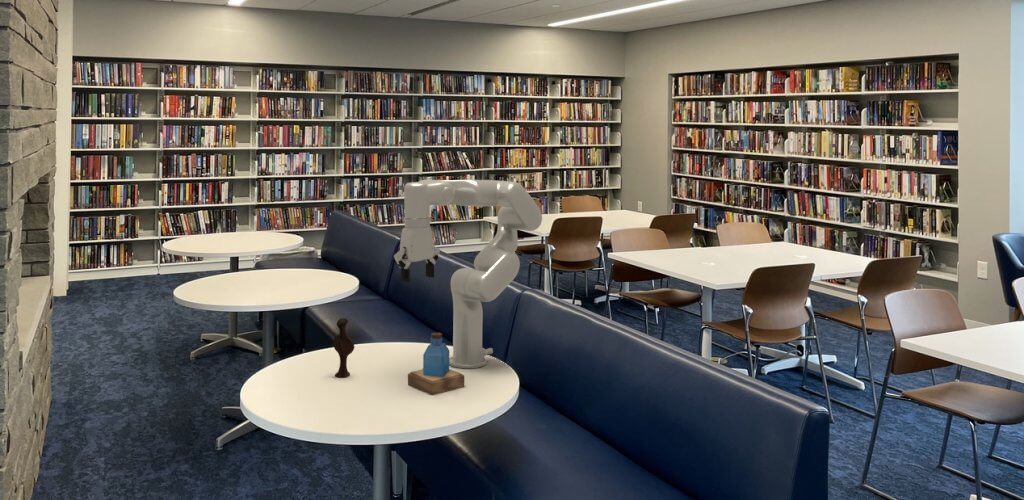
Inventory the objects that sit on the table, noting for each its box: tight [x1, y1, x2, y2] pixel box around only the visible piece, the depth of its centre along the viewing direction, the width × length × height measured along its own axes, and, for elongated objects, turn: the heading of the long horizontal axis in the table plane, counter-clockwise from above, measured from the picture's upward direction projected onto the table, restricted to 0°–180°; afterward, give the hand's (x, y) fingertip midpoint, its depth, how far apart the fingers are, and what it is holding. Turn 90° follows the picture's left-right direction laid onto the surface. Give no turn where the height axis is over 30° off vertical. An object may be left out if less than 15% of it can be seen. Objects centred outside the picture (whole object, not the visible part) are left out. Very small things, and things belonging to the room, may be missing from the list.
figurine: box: [332, 317, 355, 379], centre depth 243 cm, size 7×5×18 cm
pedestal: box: [407, 368, 465, 396], centre depth 236 cm, size 12×12×4 cm
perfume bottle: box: [422, 331, 450, 377], centre depth 235 cm, size 6×6×12 cm
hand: (417, 279), depth 241 cm, fingers open, 9 cm apart
